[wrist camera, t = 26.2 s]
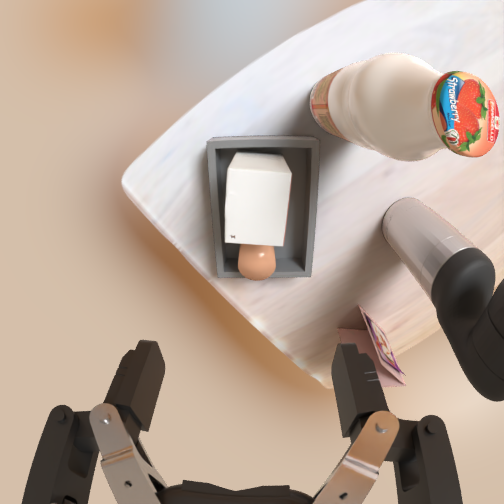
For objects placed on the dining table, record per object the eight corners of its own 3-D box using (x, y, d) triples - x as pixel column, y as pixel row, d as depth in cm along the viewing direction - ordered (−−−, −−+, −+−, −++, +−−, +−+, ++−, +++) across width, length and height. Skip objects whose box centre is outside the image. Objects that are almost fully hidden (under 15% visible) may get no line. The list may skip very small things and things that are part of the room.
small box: (277, 206, 41) (283, 248, 30) (233, 203, 41) (223, 244, 30) (282, 152, 37) (293, 172, 26) (236, 148, 37) (225, 167, 26)
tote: (312, 136, 37) (319, 140, 32) (306, 260, 46) (310, 277, 42) (213, 137, 37) (206, 141, 33) (221, 260, 47) (217, 277, 42)
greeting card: (387, 329, 54) (409, 383, 41) (359, 347, 57) (376, 402, 44) (361, 301, 50) (385, 361, 37) (331, 323, 53) (346, 384, 40)
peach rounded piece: (252, 218, 42) (251, 243, 36) (279, 235, 43) (283, 261, 37) (234, 242, 44) (230, 269, 38) (261, 257, 45) (261, 285, 39)
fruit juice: (306, 72, 32) (395, 11, 8) (369, 76, 32) (517, 61, 7) (309, 136, 37) (400, 195, 12) (371, 137, 36) (512, 201, 12)
